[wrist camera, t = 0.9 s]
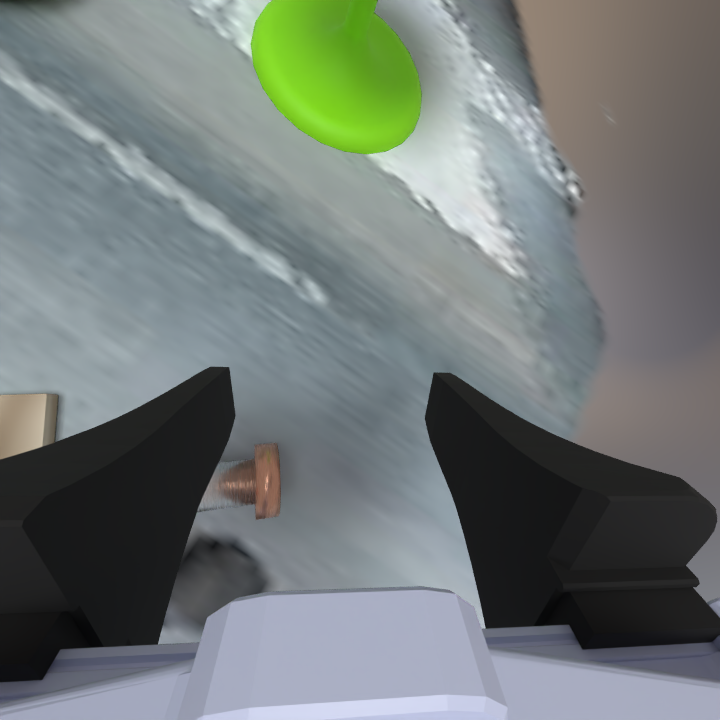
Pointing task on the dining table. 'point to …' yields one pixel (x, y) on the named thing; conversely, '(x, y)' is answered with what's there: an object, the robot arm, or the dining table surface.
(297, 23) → the wineglass
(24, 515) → the robot arm
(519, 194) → the dining table surface
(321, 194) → the dining table surface
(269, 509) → the shaft
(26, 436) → the bearing block
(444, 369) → the dining table surface
